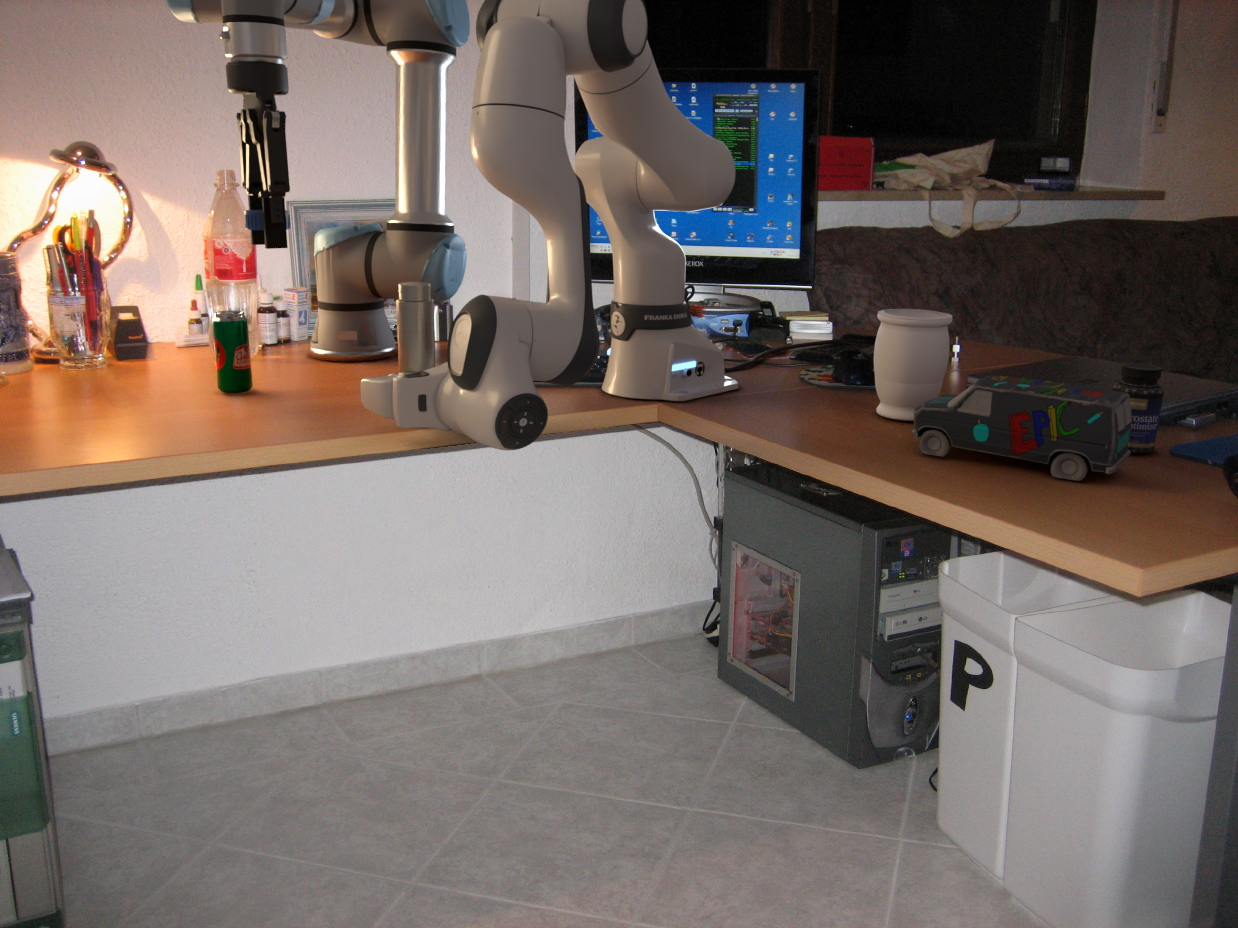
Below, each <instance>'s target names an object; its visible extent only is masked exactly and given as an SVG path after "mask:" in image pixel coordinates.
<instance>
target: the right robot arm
mask: <svg viewBox="0 0 1238 928" xmlns="http://www.w3.org/2000/svg"><path fill="white" fill-rule="evenodd" d="M648 33H649V19H648V12H647V7H646V4H645V1H644V0H484V1H483V2H482V4H481V6H480V8H479V10H478V13H477V16H476V21H475V35H476V41H477V46H478V48H479V52H480V56H479V60H478V65H477V69H476V75H475V80H474V87H473V93H472V104H471V114H470V125H469V126H470V128H469V141H470V142H469V144H470V152H471V157H472V160H473V163H474V165H475V167H477V169H478V171H479V173H480V174H481V176H483V178H484V179H485V181H487V182H488V183H489V184H490V185H491V186H492V187H493V188H494V189H495V190H497V191H498V192H499V193H501V194H502V195H504V196H505V197H506V198H508V199H510V200H511V201H513V202H514V203H516V204H518V205H519V206H520V207H521V208H523V209H524V210H525V211H527V212H528V213H529V214H530V215H531V216H532V217H533V218H534V219H535V220H536V221H537V223H538V225H539V226H540V227H541V229H542V231H543V234H544V237H545V241H546V257H547V274H548V288H549V289H548V290H549V299H548V302H541V301H533V300H525V299H518V298H514V297H506V296H498V295H487V294H478V295H476V296H474V297H473V298H472V299H470V300H469V301H467V303H465V305H464V306H462V308H461V309H460V310H459V312H458V313H457V314H456V316H455V318H454V319H453V320H452V323H451V325H450V328H449V332H448V337H447V346H446V362H444V363H442V364H440V365H437V366H436V365H435V366H436V367H433V368H430V369H428V370H425V371H420V372H414V373H405V374H400V373H399V372H393V373H389V374H388V375H378V376H368V377H367V376H366V377H363V378H362V379H361V380H360V387H359V390H360V391H359V392H360V401H361V405H362V406H363V407H364V409H366V410H368V411H370V412H371V413H372V414H375V415H377V416H379V417H381V418H384V419H388V420H394V423H395V426H396V427H398V428H400V429H435V430H442V431H446V432H452V431H453V432H454V433H457V434H460V435H463V436H466V438H468V439H470V440H472V441H474V442H476V443H479V444H481V445H483V446H486V447H489V448H492V449H495V450H500V451H507V452H508V451H516V450H517V451H518V450H521V449H523V448H526V447H528V446H530V445H531V444H533V443H534V442H536V441H537V440H538V439H539V438H540V436H541V435H542V434H543V432H544V430H545V429H546V427H547V423H548V420H549V409H548V406H547V403H546V401H545V399H544V398H543V396H541V394H540V393H539V391H538V389H537V387H536V385H535V382H536V381H537V382H541V383H545V384H551V385H556V386H562V387H570V386H573V385H575V384H576V383H578V382H580V380H582V379H583V378H584V377H585V376H586V375H588V373H589V372H590V371H591V370H592V368H594V366H595V364H596V362H597V360H598V358H599V354H600V348H601V346H600V345H601V343H600V342H601V339H600V333H599V327H598V322H597V318H596V314H595V313H596V312H595V308H594V298H593V297H594V296H593V284H592V283H593V282H592V281H593V279H592V264H591V246H590V228H589V215H588V213H589V212H588V205H589V206H590V207H591V208H592V209H593V210H594V212H595V213H596V214H597V216H598V217H599V219H600V221H601V223H602V224H603V227H604V228H605V231H606V233H607V236H608V239H609V243H610V247H611V253H612V267H613V269H612V271H613V272H612V273H613V299H612V300H611V301H610V315H609V316H610V317H609V323H610V334H611V340H610V348H608V349H607V351H606V355H607V356H608V362H607V367H606V371H605V376H604V379H603V382H602V385H601V391H603V392H605V393H606V394H609V395H613V396H617V397H622V398H629V399H637V400H639V399H640V400H663V401H669V402H685V401H686V402H687V401H691V400H695V399H699V398H704V397H707V396H712V395H716V394H721V393H725V392H730V391H734V390H737V389H739V387H740V386H739V382H738V381H737V380H736V379H734V378H732V377H730V376H727V375H726V373H728V372H734V371H738V370H742V369H743V368H746V367H749V366H751V365H754V364H756V362H757V361H759V360H761V359H764V358H765V357H767V356H769V355H772V354H776V353H779V352H784V351H789V350H795V349H801V348H810V347H819V346H827V345H835V344H834V343H836V344H839V343H838V342H842V341H843V340H844V339H843V338H836V339H825V340H818V341H810V342H800V343H795V344H789V345H783V346H782V345H781V346H778V347H774V348H771V349H768V350H765V351H763V352H761V353H759V354H757V355H755V356H754V357H751V359H749V360H746V361H744V362H741V363H739V364H736V365H733V366H730V367H729V366H727V367H725V359H724V355H723V352H722V350H721V348H719V346H717V345H716V344H715V342H713V341H711V340H710V339H709V338H708V337H707V336H706V335H705V334H703V333H702V332H701V331H700V330H699V329H697V328H696V327H695V326H694V325H693V324H694V321H693V318H692V317H696V318H699V319H702V318H703V317H704V315H706V312H707V310H706V307H705V305H703V304H698V303H692V304H691V305H690V304H689V303H688V302H686V301H685V298H686V297H685V295H686V269H687V268H686V266H687V258H686V254H685V252H684V250H683V248H682V246H681V245H680V244H679V243H678V242H677V241H676V240H675V239H673V238H672V237H671V236H668V235H667V234H666V233H664V232H663V231H662V230H661V227H660V226H659V224H658V223H657V220H656V216H655V211H662V212H663V211H664V212H665V211H666V212H685V213H687V212H691V213H692V212H698V211H703V210H707V209H708V210H709V209H714V208H718V207H720V206H722V205H723V204H724V203H725V201H726V200H727V199H728V198H729V196H730V194H731V193H732V191H733V188H734V185H735V182H736V164H735V159H734V157H733V155H732V152H731V151H730V149H729V147H728V146H727V145H726V144H725V142H723V141H721V140H720V139H717V138H716V137H713V136H711V135H710V134H707V133H706V132H704V131H703V130H702V129H700V128H698V126H696V125H695V124H694V123H692V122H691V120H689V119H688V117H686V116H685V115H684V114H683V113H682V111H681V110H680V109H679V108H678V107H677V106H676V104H675V103H674V102H673V100H672V99H671V98H670V96H669V94H668V93H667V89H666V88H665V85H664V82H663V80H662V78H661V77H662V76H661V75H660V72H659V70H658V66H657V64H656V61H655V58H654V55H653V53H652V52H653V51H652V49H651V47H650V44H649V40H648V35H649V34H648ZM568 76H573V79H574V81H575V83H576V87H577V88H578V91H579V93H580V96H581V98H582V101H583V103H584V106H585V108H586V112H587V113H588V115H589V118H590V120H591V123H592V124H593V126H594V128H595V129H596V130H597V131H598V132H599V133H600V134H601V135H602V136H598V137H594V138H591V139H587V140H585V141H583V143H582V144H581V145H580V147H579V148H578V149H577V152H576V154H575V156H574V159H573V162H572V163H571V160H570V156H569V152H568V148H567V142H566V141H567V140H566V118H567V117H566V116H567V93H568V92H567V77H568ZM534 381H535V382H534Z"/></svg>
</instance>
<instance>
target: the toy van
mask: <svg viewBox="0 0 1238 928" xmlns="http://www.w3.org/2000/svg"><path fill="white" fill-rule="evenodd" d="M914 410H915V412H914V421H913V429H912V430H911V433H912V435H913V438H914V439H918V438H919V439H918V447H919V450H920V452H921V453H922V454H926V455H930V456H934V457H935V456H936V457H942V458H945V457H946V456H947V455H948V454H949V453H950V452H951V450H952V448H958V449H962V450H963V449H964V450H969V451H974V452H978V453H979V452H980V453H984V454H985V453H986V454H990V455H996V456H1002V457H1007V458H1012V459H1013V458H1014V459H1019V460H1024V461H1029V462H1033V463H1039V464H1043V465H1044V464H1045V465H1048V464H1049V465H1050V463H1051V465H1050V475H1051V476H1052V478H1058V479H1065V480H1069V481H1077V482H1080V481H1082V480H1083V479H1085V478H1086V476H1087V474H1088V472H1089V469H1091V472H1098V473H1105V474H1107V475H1112V474H1113V473H1115V472H1116V471H1117V470H1118V469H1119V468H1120V467H1121V466H1122V465H1123V464H1124V463H1125V462H1126V461H1127V460H1128V458H1129V457H1130V455H1131V454H1132V453H1131V451H1130V450H1128V446H1129V445H1130V442H1129V440H1130V436H1131V430H1132V427H1133V423H1132V414H1131V405H1130V396H1129V394H1127V393H1124V392H1118V391H1112V389H1111V390H1110V389H1104V388H1097V387H1090V386H1084V385H1078V384H1071V383H1064V382H1058V381H1051V380H1043V379H1036V378H1030V377H1029V378H1028V377H1019V376H1009V375H1007V376H1006V375H999V374H997V375H996V374H995V375H987V376H984V377H980V378H979V379H977V380H976V381H975V382H973V383H972V384H971V385H970V386H968V387H967V388H966V389H965V390H963V391H962V392H960V393H958V394H943V395H939V396H938V397H937V398H934V399H932V400H929V401H927V402H925V403H923V404H921V405H920V406H918V407H917V408H915V409H914Z"/></svg>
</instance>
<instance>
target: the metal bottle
mask: <svg viewBox="0 0 1238 928" xmlns="http://www.w3.org/2000/svg"><path fill="white" fill-rule="evenodd" d="M398 285H399V290H398V292H399V299H395V306H396V307H395V309H396V310H395V311H396V322H397V328H396V331H397V333H396V337H397V359H398V373H400V374H405V373H414V372H420V371H425V370H428V369H430V368H433V367H436V335H435V333H436V331H435V303H434V302H435V301H434V300H433V299H432V298H430V288H431V285H430V283H426V282H403V283H399V284H398Z"/></svg>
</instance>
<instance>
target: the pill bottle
mask: <svg viewBox="0 0 1238 928" xmlns="http://www.w3.org/2000/svg"><path fill="white" fill-rule="evenodd" d="M1162 371H1163V367H1161V366H1158V365H1155V364H1149V363H1142V362H1141V363H1140V362H1126V363H1122V365H1121V369H1120V375H1121V380H1119V381H1116V382H1115V383H1114V384H1113V385H1112V388H1111V391H1118V392H1124V393H1127V394H1129V396H1130V405H1131V414H1132V423H1133V427H1132V430H1131V436H1130V440H1129V442H1130V445H1129V446H1128V450H1130V451H1131V453H1130V454H1140V455H1141V454H1148V453H1151V452H1153V451H1154V450H1155V448H1156V440H1157V435H1158V428H1159V424H1160V419H1161V418H1160V417H1161V412H1162V407H1163V399H1164V395H1165V391H1164V389H1163V387H1162V386H1161V385H1159V383H1158V381H1159V380H1160V379H1161V377H1162Z"/></svg>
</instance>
